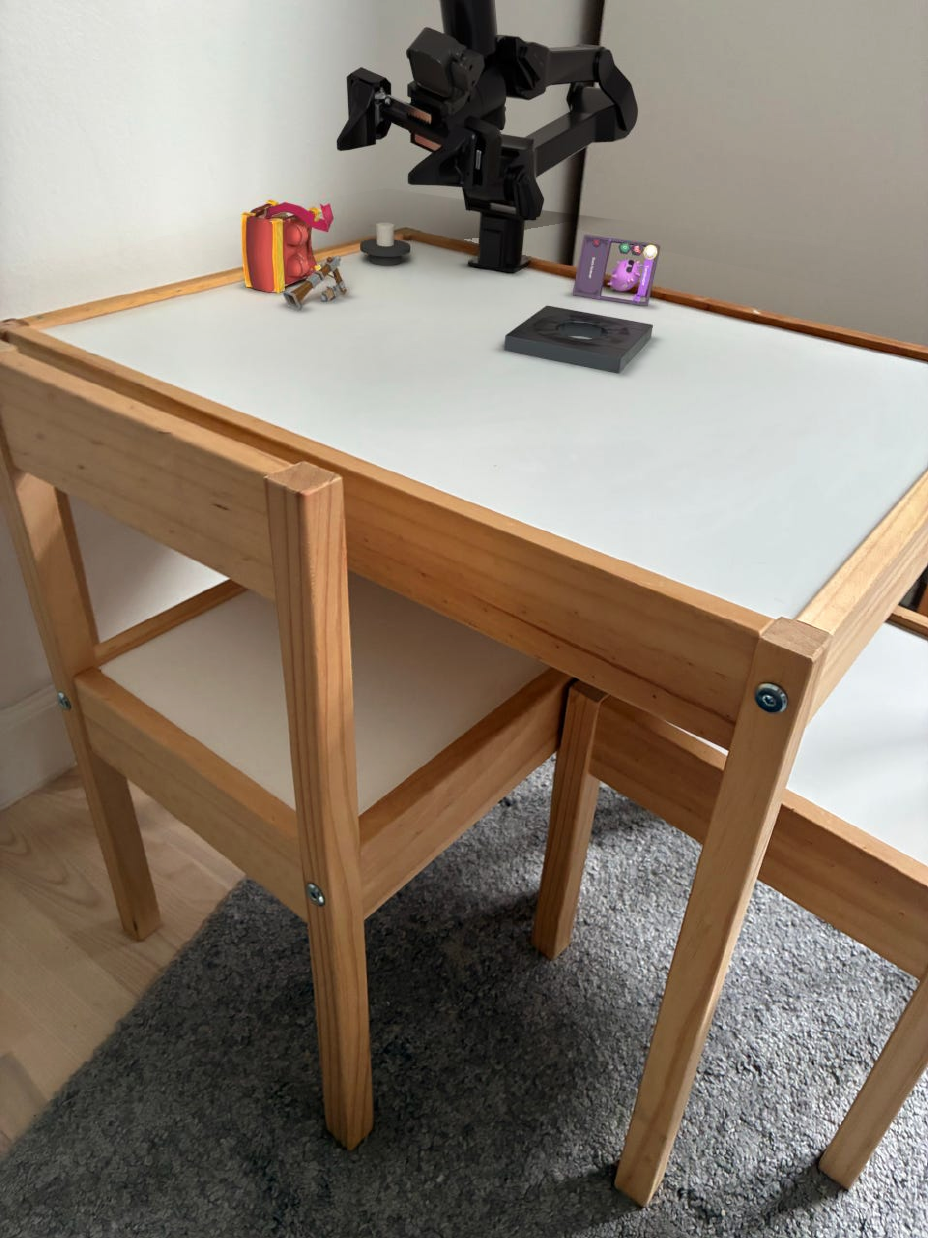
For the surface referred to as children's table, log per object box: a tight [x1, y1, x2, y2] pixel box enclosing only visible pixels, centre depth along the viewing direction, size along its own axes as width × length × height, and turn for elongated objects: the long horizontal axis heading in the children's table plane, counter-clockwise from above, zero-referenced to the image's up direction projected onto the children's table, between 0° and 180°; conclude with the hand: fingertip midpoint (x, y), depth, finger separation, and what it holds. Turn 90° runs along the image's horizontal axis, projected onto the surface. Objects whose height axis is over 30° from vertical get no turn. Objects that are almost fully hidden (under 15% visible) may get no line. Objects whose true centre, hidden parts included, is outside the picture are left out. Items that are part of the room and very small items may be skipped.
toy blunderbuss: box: [281, 255, 348, 311], centre depth 99 cm, size 2×8×4 cm, turn 138°
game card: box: [572, 234, 661, 307], centre depth 106 cm, size 7×5×9 cm
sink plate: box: [503, 305, 654, 374], centre depth 92 cm, size 12×12×2 cm
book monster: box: [240, 199, 334, 294], centre depth 101 cm, size 11×9×12 cm
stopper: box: [359, 222, 411, 266], centre depth 114 cm, size 6×6×4 cm
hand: (372, 162), depth 91 cm, fingers open, 9 cm apart
